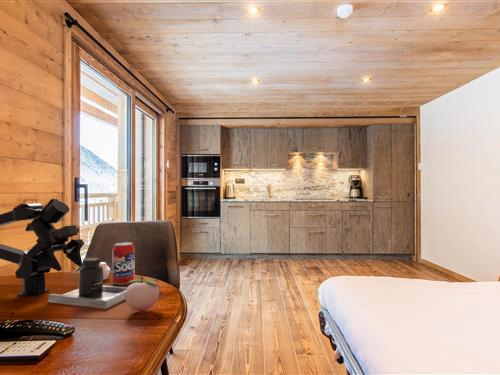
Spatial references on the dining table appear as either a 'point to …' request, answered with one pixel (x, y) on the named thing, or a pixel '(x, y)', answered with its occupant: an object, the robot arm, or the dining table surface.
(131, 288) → the decorative fruit
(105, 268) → the small white vase
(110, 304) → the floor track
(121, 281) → the soda can
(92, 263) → the supplement bottle
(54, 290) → the dining table surface
